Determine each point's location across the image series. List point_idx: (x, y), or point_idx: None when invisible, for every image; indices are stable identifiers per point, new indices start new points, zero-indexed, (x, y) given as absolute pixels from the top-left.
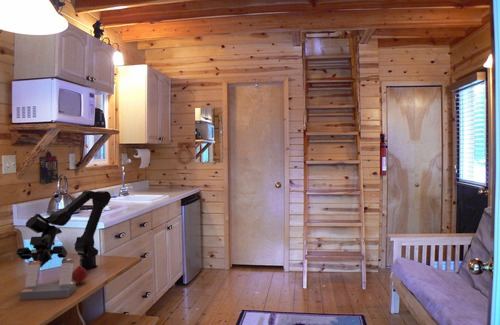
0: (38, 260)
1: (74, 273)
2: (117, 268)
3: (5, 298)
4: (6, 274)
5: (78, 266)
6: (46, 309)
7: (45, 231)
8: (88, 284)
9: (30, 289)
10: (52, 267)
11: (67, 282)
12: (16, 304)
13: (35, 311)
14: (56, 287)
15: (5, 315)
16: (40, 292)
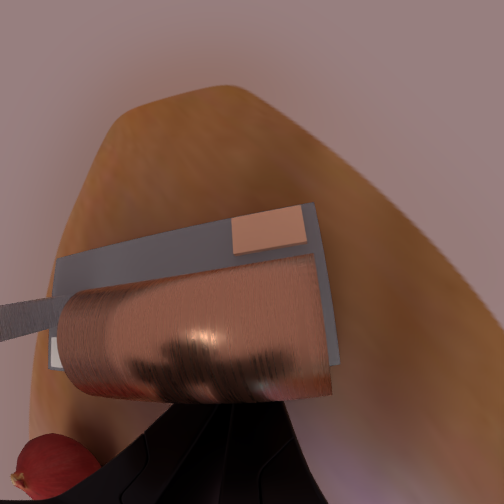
0: (79, 339)
1: (51, 451)
2: None
3: (434, 251)
4: None
5: (16, 474)
6: (126, 162)
7: None
8: (57, 430)
9: (254, 245)
10: None
11: (43, 298)
12: (291, 180)
13: (158, 142)
14: None
15: (258, 100)
16: (173, 232)
